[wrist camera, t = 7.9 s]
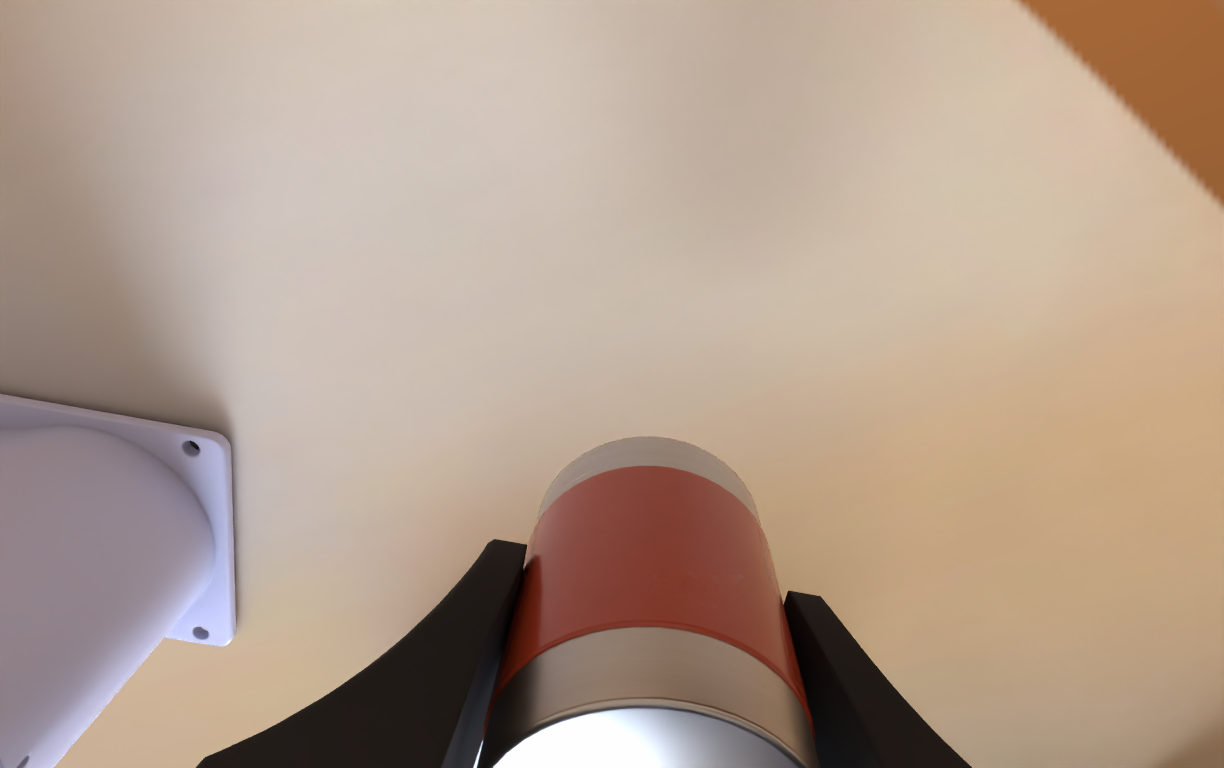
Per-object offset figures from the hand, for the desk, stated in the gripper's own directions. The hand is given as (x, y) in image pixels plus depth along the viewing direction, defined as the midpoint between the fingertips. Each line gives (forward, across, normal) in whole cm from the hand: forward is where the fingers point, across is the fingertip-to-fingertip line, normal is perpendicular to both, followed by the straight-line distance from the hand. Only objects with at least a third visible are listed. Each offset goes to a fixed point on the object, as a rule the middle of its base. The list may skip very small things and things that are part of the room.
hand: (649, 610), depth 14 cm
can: (+2, 0, 0) cm, 2 cm away
